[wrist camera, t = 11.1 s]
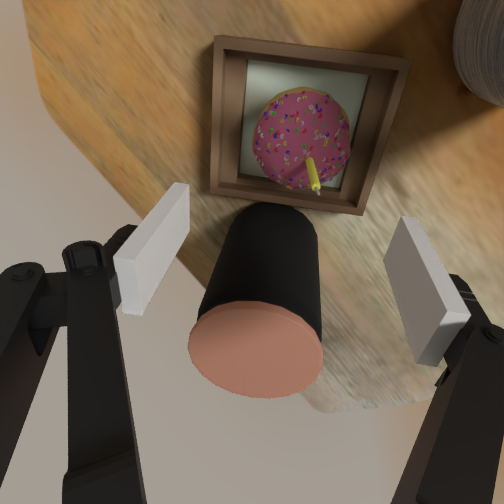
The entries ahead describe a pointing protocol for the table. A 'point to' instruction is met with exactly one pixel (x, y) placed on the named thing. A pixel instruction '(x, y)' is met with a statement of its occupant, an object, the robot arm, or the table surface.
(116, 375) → the robot arm
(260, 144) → the cupcake
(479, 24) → the vase
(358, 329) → the table surface
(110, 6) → the table surface
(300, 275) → the coffee jar
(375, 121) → the walled box
